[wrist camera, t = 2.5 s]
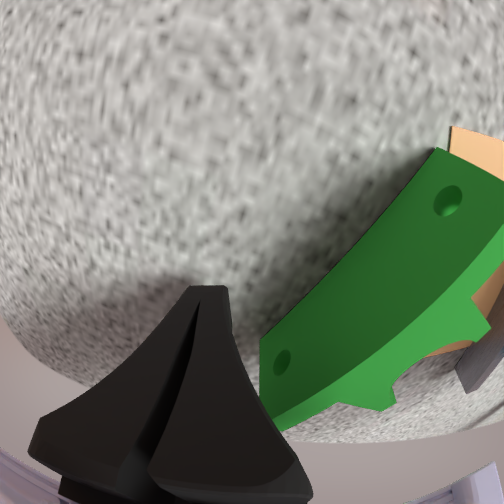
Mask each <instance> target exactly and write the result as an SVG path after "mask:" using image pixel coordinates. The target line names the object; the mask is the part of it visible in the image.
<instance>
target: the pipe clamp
mask: <svg viewBox="0 0 504 504" xmlns="http://www.w3.org/2000/svg"><path fill="white" fill-rule="evenodd" d="M503 261H504V181H503V180H501V179H499V178H498V177H496V176H494V175H492V174H491V173H489V172H487V171H485V170H483V169H481V168H480V167H478V166H476V165H474V164H472V163H470V162H468V161H466V160H464V159H462V158H460V157H458V156H456V155H454V154H452V153H449V152H447V151H445V150H443V149H441V148H438V147H436V149H435V150H434V151H433V153H432V154H431V155H430V157H429V158H428V159H427V160H426V162H425V163H424V164H423V166H422V167H421V168H420V169H419V171H418V172H417V173H416V174H415V176H414V177H413V178H412V179H411V181H410V182H409V183H408V184H407V185H406V187H405V188H404V189H403V190H402V191H401V193H400V194H399V195H398V196H397V197H396V199H395V200H394V201H393V202H392V203H391V205H390V206H389V207H388V208H387V209H386V210H385V212H384V213H383V214H382V215H381V216H380V217H379V218H378V220H377V221H376V222H375V223H374V224H373V225H372V226H371V228H370V229H369V230H368V231H367V232H366V233H365V234H364V235H363V236H362V238H361V239H360V240H359V241H358V242H357V243H356V244H355V245H354V246H353V247H352V249H351V250H350V251H349V252H348V253H347V254H346V255H345V256H344V257H343V258H342V259H341V260H340V261H339V262H338V264H337V265H336V266H335V267H334V268H333V269H332V270H331V271H330V272H329V273H328V274H327V275H326V276H325V277H324V278H323V279H322V280H321V281H320V282H319V283H318V284H317V285H316V286H315V287H314V288H313V289H312V290H311V291H310V292H309V293H308V294H307V295H306V296H305V297H304V298H303V299H302V300H301V301H300V302H299V303H298V304H297V305H296V306H295V307H294V308H293V309H292V310H291V311H290V312H289V313H288V314H287V315H286V316H285V317H284V318H283V319H282V320H281V321H280V322H279V323H278V324H276V325H275V326H274V327H273V328H272V329H271V330H270V331H269V332H268V333H267V334H266V335H265V336H264V337H263V338H262V339H260V372H259V398H260V400H261V402H262V404H263V405H264V407H265V409H266V411H267V413H268V414H269V416H270V418H271V419H272V421H273V422H274V424H275V425H276V427H277V428H278V430H279V431H284V430H287V429H289V428H291V427H293V426H295V425H297V424H299V423H301V422H303V421H304V420H306V419H308V418H310V417H312V416H314V415H316V414H318V413H319V412H321V411H323V410H325V409H327V408H328V407H330V406H332V405H333V404H335V403H337V402H342V403H346V404H350V405H354V406H358V407H362V408H367V409H371V410H376V411H381V412H382V411H384V410H385V409H387V408H389V407H390V406H392V405H394V404H395V403H397V402H396V399H395V395H394V392H393V389H392V385H393V383H394V382H395V381H396V380H397V379H398V377H399V376H400V375H401V374H402V373H404V372H405V371H406V370H407V369H408V368H409V367H411V366H412V365H413V364H415V363H416V362H417V361H419V360H420V359H422V358H423V357H425V356H427V355H428V354H430V353H432V352H434V351H435V350H437V349H439V348H441V347H444V346H446V345H448V344H451V343H454V342H457V341H462V340H472V341H474V342H477V341H478V340H480V339H481V338H482V337H483V336H484V335H485V334H486V333H487V332H488V331H489V330H490V329H491V327H490V325H489V323H488V322H487V320H486V319H485V317H484V316H483V314H482V313H481V312H480V310H479V309H478V307H477V306H476V304H475V303H474V301H473V300H472V299H471V297H472V296H473V295H474V294H475V293H476V292H477V291H478V289H479V288H480V287H481V286H482V285H483V284H484V283H485V282H486V281H487V280H488V278H489V277H490V276H491V275H492V274H493V273H494V272H495V270H496V269H497V268H498V267H499V266H500V264H501V263H502V262H503Z"/></svg>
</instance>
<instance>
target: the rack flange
mask: <svg viewBox="0 0 504 504" xmlns="http://www.w3.org/2000/svg"><path fill="white" fill-rule="evenodd" d="M449 153H452V154H454V155H456V156H458V157H460V158H462V159H464V160H466V161H468V162H470V163H472V164H474V165H476V166H478V167H480V168H481V169H483V170H485V171H487V172H489V173H491V174H492V175H494V176H496V177H498V178H499V179H501V180H503V181H504V141H502V140H499V139H496V138H493V137H489V136H486V135H483V134H480V133H476V132H473V131H469V130H466V129H462V128H458V127H454V126H452V130H451V140H450V149H449ZM471 299H472V300H473V301H474V303H475V304H476V306H477V307H478V309H479V310H480V312H481V313H482V314H483V316H484V317H485V319H486V320H487V322H488V323H489V325H490V327H491V329H490V330H489V331H488V332H487V333H486V334H485V335H484V336H483V337H482V338H481V339H480V340H478V341H477V342H474V341H472V340H462V341H457V342H454V343H451V344H448V345H446V346H444V347H441V348H439V349H437V350H435V351H434V352H432V353H430V354H428V355H427V356H425V357H430V356H434V355H438V354H443V353H447V352H451V351H455V350H458V349H462V348H466V347H468V349H467V350H466V352H465V353H464V355H463V356H462V358H461V359H460V361H459V362H458V363H457V365H456V366H455V370H456V373H457V375H458V377H459V379H460V381H461V384H462V386H463V388H464V390H465V393H466V394H468V393H470V392H473V391H475V390H477V389H478V388H479V387H480V386H481V385H482V383H483V382H484V381H485V380H486V379H487V377H488V376H489V375H490V374H491V373H492V371H493V370H494V369H495V367H496V366H497V365H498V364H499V362H500V361H501V360H502V358H503V357H504V261H503V262H502V263H501V264H500V266H499V267H498V268H497V269H496V270H495V272H494V273H493V274H492V275H491V276H490V277H489V278H488V280H487V281H486V282H485V283H484V284H483V285H482V286H481V287H480V288H479V289H478V291H477V292H476V293H475V294H474V295H473V296H472V297H471ZM425 357H423V358H425Z"/></svg>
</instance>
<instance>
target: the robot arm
mask: <svg viewBox="0 0 504 504" xmlns="http://www.w3.org/2000/svg"><path fill="white" fill-rule="evenodd" d="M28 454H29V455H30V456H31V457H32V458H33V459H35V460H36V461H38V462H40V463H41V464H43V465H45V466H47V467H48V468H50V469H51V470H53V471H55V472H57V473H58V474H60V475H62V478H61V482H58V481H56V480H54V479H52V478H50V477H48V476H46V475H44V474H42V473H40V472H39V471H37V470H35V469H33V468H32V467H30V466H28V465H26V464H25V463H23V462H21V461H20V460H18V459H17V458H15V457H13V456H12V455H10V454H9V453H8V452H6V451H5V450H3V449H1V448H0V504H69V503H70V504H307V502H308V501H310V499H312V498H313V490H312V486H311V484H310V481H309V479H308V477H307V475H306V473H305V471H304V469H303V467H302V465H301V463H300V461H299V459H298V457H297V455H296V453H295V452H294V451H293V450H292V448H291V447H290V446H289V444H288V443H287V441H286V440H285V439H284V437H283V436H282V434H281V433H280V431H279V430H278V428H277V427H276V425H275V424H274V422H273V421H272V419H271V418H270V416H269V414H268V413H267V411H266V409H265V407H264V405H263V404H262V402H261V400H260V398H259V397H258V395H257V393H256V391H255V389H254V387H253V385H252V383H251V381H250V379H249V377H248V374H247V372H246V370H245V367H244V365H243V363H242V360H241V358H240V355H239V352H238V349H237V346H236V343H235V340H234V337H233V334H232V319H231V311H230V303H229V295H228V288H227V287H226V286H224V285H215V286H189V287H188V288H187V289H186V291H185V292H184V293H183V294H182V296H181V297H180V298H179V300H178V301H177V302H176V304H175V305H174V306H173V307H172V309H171V310H170V311H169V313H168V314H167V315H166V316H165V317H164V319H163V320H162V321H161V322H160V324H159V325H158V326H157V327H156V328H155V330H154V331H153V332H152V333H151V334H150V335H149V336H148V337H147V338H146V340H145V341H144V342H143V343H142V344H141V345H140V346H139V347H138V348H137V349H136V350H135V351H134V352H133V353H132V354H131V355H130V356H129V357H128V358H127V359H126V360H125V361H124V362H123V363H122V364H121V365H120V366H118V367H117V368H116V369H115V370H114V371H113V372H111V373H110V374H109V375H108V376H106V377H105V378H104V379H103V380H101V381H100V382H99V383H98V384H96V385H95V386H94V387H92V388H91V389H89V390H88V391H86V392H85V393H83V394H82V395H80V396H79V397H77V398H76V399H74V400H73V401H71V402H69V403H68V404H66V405H64V406H62V407H60V408H58V409H57V410H55V411H53V412H51V413H49V414H47V415H45V416H43V417H41V418H40V419H39V421H38V424H37V427H36V429H35V432H34V434H33V437H32V440H31V443H30V445H29V448H28ZM403 504H504V498H503V493H502V489H501V484H500V480H499V476H498V472H497V468H496V465H495V462H494V461H493V462H490V463H489V464H487V465H485V466H484V467H482V468H480V469H478V470H477V471H475V472H473V473H471V474H469V475H467V476H465V477H463V478H461V479H459V480H458V481H456V482H454V483H452V484H451V485H448V486H446V487H444V488H442V489H439V490H437V491H435V492H432V493H430V494H428V495H425V496H423V497H421V498H418V499H415V500H412V501H410V502H406V503H403Z"/></svg>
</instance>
